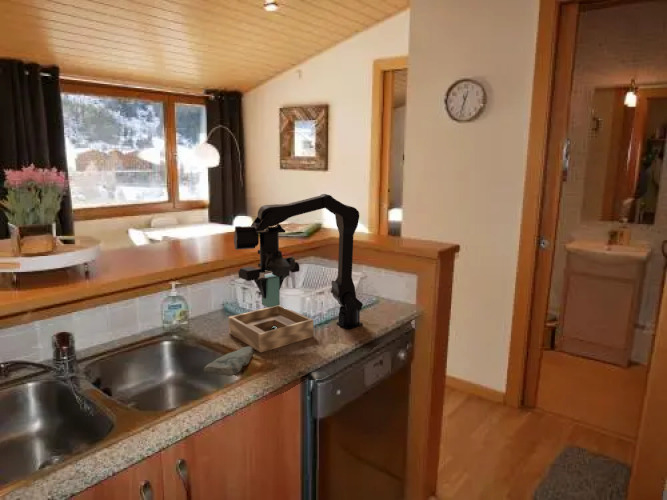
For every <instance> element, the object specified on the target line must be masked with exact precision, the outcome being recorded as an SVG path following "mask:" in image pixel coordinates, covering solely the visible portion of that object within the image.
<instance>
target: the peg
mask: <svg viewBox="0 0 667 500" xmlns="http://www.w3.org/2000/svg"><path fill="white" fill-rule="evenodd" d="M265 278H267V281H266V298H265V299H264V298H263V297H262V296H261V305H262V306H265V308H270V307H274V306H278V305H281V304H280V303H281V300H280V297H281V294H280V293H281V292H280V291H281V288H280V289H279V277H277V276H275V275H273V274H271V273H270V274H267V275H266V274H265Z"/></svg>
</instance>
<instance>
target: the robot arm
mask: <svg viewBox="0 0 667 500" xmlns="http://www.w3.org/2000/svg"><path fill="white" fill-rule="evenodd" d="M322 209H326V210H327V211H329V212H330V213H331V214H333V215H334V216H335V223H336V228H337V230H338V235H339V236H338V261H337V262H338V263H337V264H338V265H337V277H336V278H335V280H331V281H330V282H331V289H330V293H331V294H332V297H333V299H335V300H336V302H337V303H338V305H340V307H339V312H338V321H336V325H338V326H341V327H343V328H345V329H348V330H351V329H354V328H357V327H360V326H363V324H364V323H363V322H361V321H360V315H361V314H360V313H361V312H360V311H361V310H362V308H363V305H364V304H363V302H362V301H360V299H358V298H357V295H356V287H355V284H354V283H355V282H354V280H353V257H354V253H353V252H354V236H355V233H356V230H357V228H358V224H359V222H360V220H359V219H360V212H359V210H358V209H357V208H356V207H354V206H350V205H347V204H344V203H342V202H341V201H339V200H338V199H335V198H334V196H332V195H330V194H327V193H321V194H320V195H317V196H313V197H310V198H309V197H308V198H306V199H302V200H297V201H294V202H289V203H282V204H279V203H278V204H275V203H274V204H264V205H262V206H260V208H259V209H258V211H257V216H256V217H255V219H254V220H253V222H252V224H251V225H250V226H241V225H239V226H238V225H237V226H234V235H233V244H234V245H233V246H234V249H235V251H236V250H237V251H238V250H249V249H250V250H251V249H252V250H253V249H256V247H258V245H259V249H257V254H259V262H258V263H257V267H259V268H256V267H252V266H246V267H245V266H244V267H242V268H241V267H240V269H239V270H238V278H240V279H242V280H245V281H248V282H250V281H254V283H255V284H256V286H257V289H258V290H259V293H260V295H261V298H262V297H263V298H264V299H265V298H266V281H267V278H265V276H266V274H267V275H268V274H271V273H272V274H273V275H275V276H277V277H279V289H280V290H281V289H282V288H281V287H282V284H283V283H284V280H285V279H286V278H287V277H289V276H290V275H291V273H297V272H300V271H301V270H300V268H301V267H300V264H299V262H298V261H296V259H295V257H293V256H291V257H285V258H284V257H283V253H282V250H280V243H279V242H280V239H279V237H280V236H279V235H280V234H281V233H286V229H284V228H283V227H282V226H281V224H282V223H283V222H285V221H286V220H288V219H290V218H292V217H296V216H299V215H303V214H307V213H311V212H315V211H319V210H322Z"/></svg>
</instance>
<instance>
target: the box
mask: <svg viewBox="0 0 667 500" xmlns="http://www.w3.org/2000/svg"><path fill="white" fill-rule="evenodd" d="M280 305H281V304H280ZM280 305H278V306H274V307H270V308H268V307H265V308H261V309H256V310H251V311H248V312H244V313H239V314H235V315H230V316H228V328H229V329H228V331H229V335H230V336H233V337H235V338H236V339H238V340H239V341H241V342H243V343H244V344H247V345H248V346H251V347H252V348H253V350H256V351H258V352H260V353H264V352H267V351H270V350H274V349H277V348H280V347H284V346H287V345H290V344H293V343H297V342H300V341H303V340H307V339H309V338H313V337H314V319H313V318H311V317H308V316H306V315H303V314H302V313H300V312H296V311H294V310H292V309H290V308H288V309H284V308H283V307H284V306H283V305H281V306H280ZM282 306H283V307H282ZM289 309H290V310H289ZM273 326H276V327H277V329H275V328H274V329H271V328H272V327H273ZM270 329H271V330H270Z"/></svg>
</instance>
